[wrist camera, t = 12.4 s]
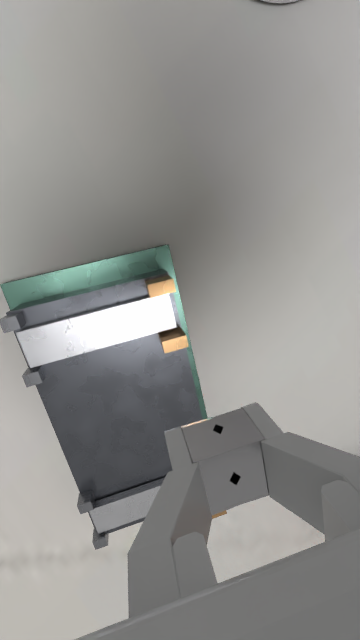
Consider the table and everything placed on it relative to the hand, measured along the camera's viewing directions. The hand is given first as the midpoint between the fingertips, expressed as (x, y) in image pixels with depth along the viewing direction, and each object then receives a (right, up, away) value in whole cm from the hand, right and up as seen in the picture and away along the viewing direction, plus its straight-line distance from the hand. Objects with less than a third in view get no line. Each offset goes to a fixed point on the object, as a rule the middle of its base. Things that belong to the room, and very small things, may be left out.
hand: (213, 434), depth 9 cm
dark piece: (-7, -4, +22) cm, 23 cm away
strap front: (-8, +3, +15) cm, 17 cm away
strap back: (-4, -14, +20) cm, 25 cm away
